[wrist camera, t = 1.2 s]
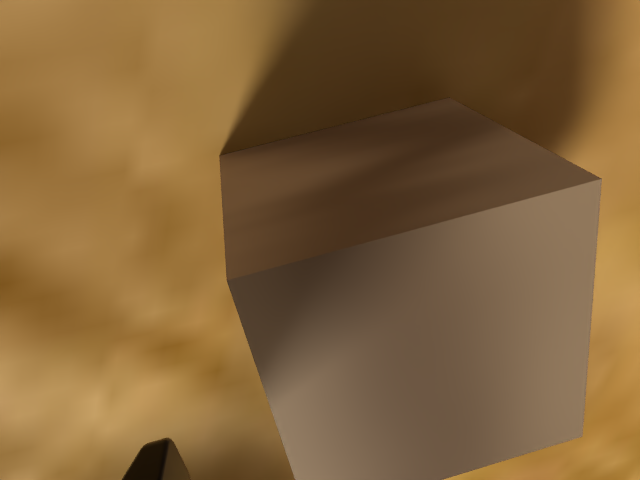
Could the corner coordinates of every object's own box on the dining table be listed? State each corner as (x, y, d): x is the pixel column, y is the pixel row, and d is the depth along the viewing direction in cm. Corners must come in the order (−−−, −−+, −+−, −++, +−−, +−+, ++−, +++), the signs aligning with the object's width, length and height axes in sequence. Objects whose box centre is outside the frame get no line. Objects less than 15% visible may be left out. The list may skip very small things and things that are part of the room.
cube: (448, 96, 12) (601, 178, 7) (462, 286, 15) (582, 436, 10) (219, 154, 12) (226, 280, 7) (275, 338, 15) (308, 520, 10)
